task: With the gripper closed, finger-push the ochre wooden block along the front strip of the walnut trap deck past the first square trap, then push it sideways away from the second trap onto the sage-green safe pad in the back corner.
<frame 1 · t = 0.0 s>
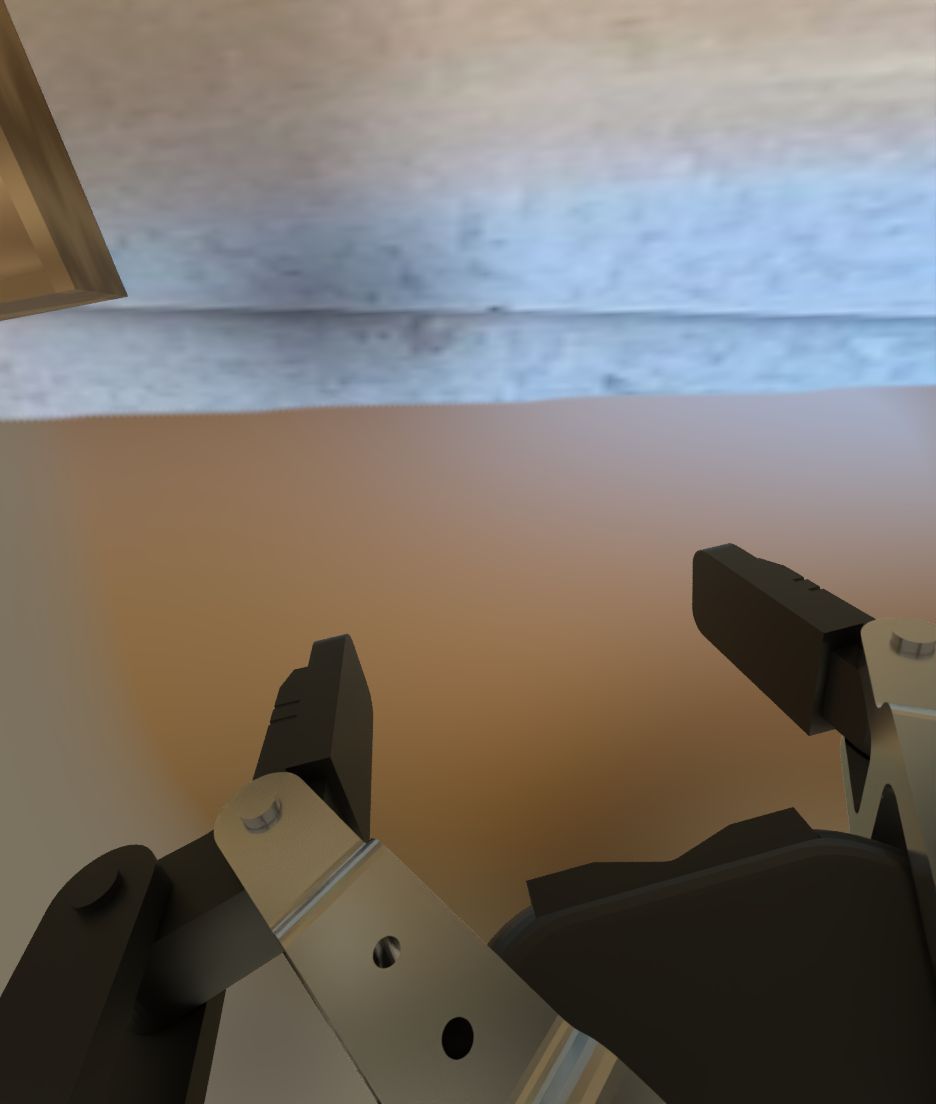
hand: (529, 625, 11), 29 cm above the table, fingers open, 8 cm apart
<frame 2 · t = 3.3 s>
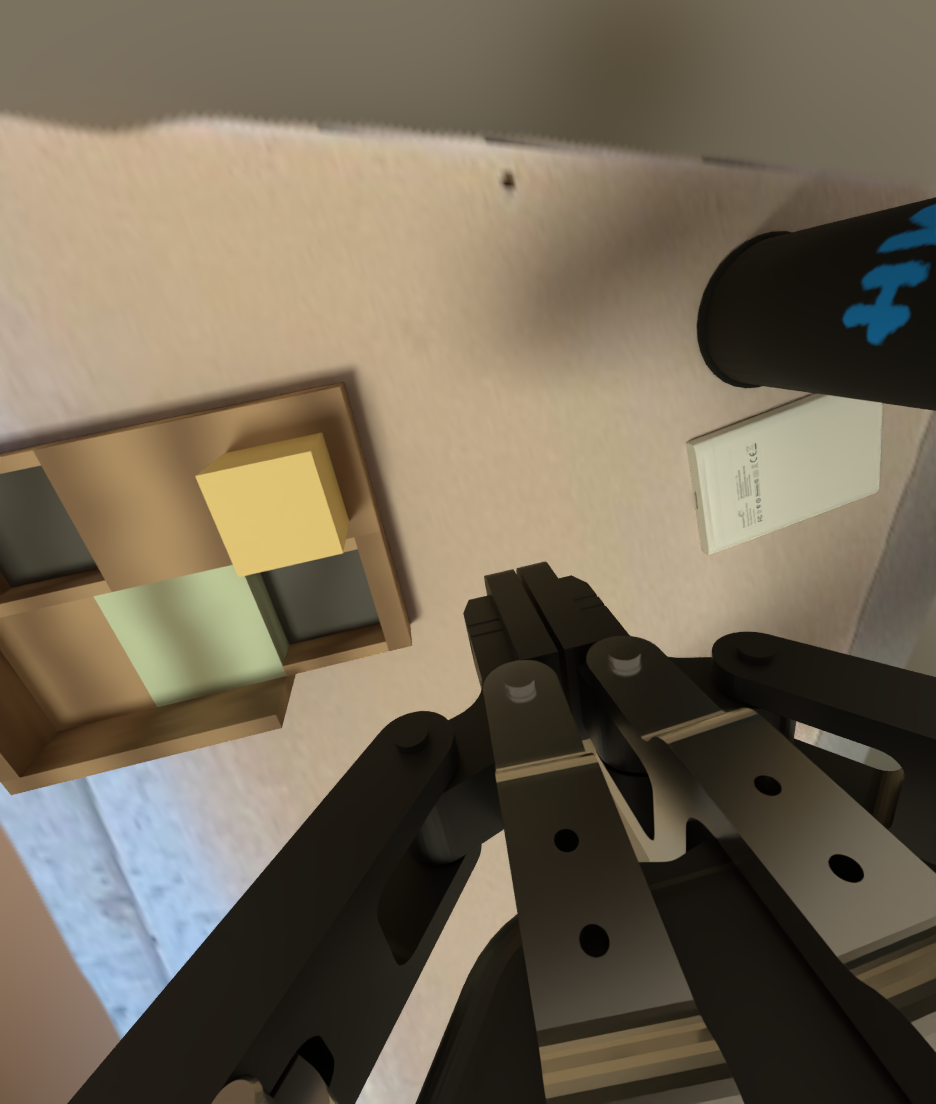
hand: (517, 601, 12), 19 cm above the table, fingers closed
aerosol can: (759, 314, 30), on the table
external hard drive: (773, 464, 34), on the table
trap deck: (200, 557, 30), on the table
block: (290, 488, 27), point 2 cm above the table, touching trap deck
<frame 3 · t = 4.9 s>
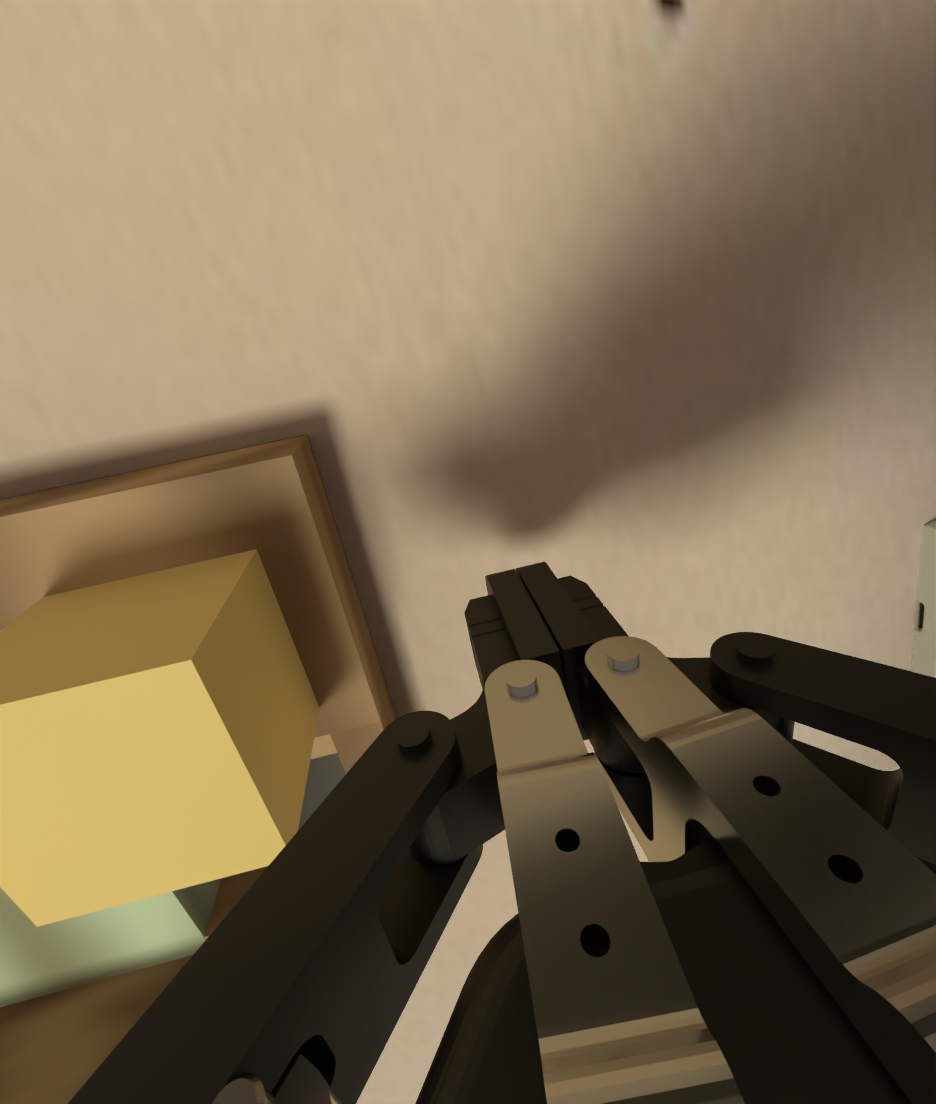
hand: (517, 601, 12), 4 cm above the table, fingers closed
trap deck: (46, 750, 16), on the table
block: (194, 657, 13), point 2 cm above the table, touching trap deck
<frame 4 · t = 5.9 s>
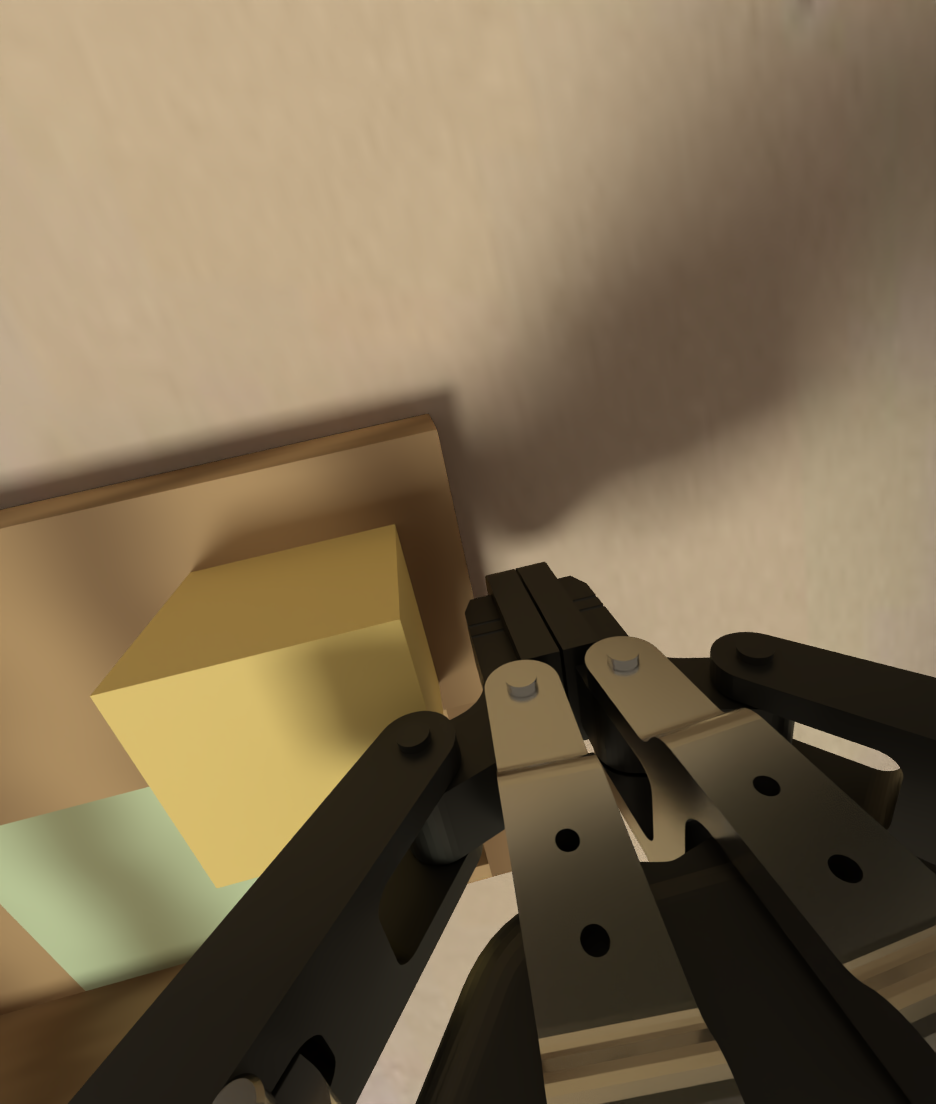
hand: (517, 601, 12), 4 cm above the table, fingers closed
trap deck: (156, 730, 17), on the table
block: (325, 632, 13), point 3 cm above the table, touching gripper
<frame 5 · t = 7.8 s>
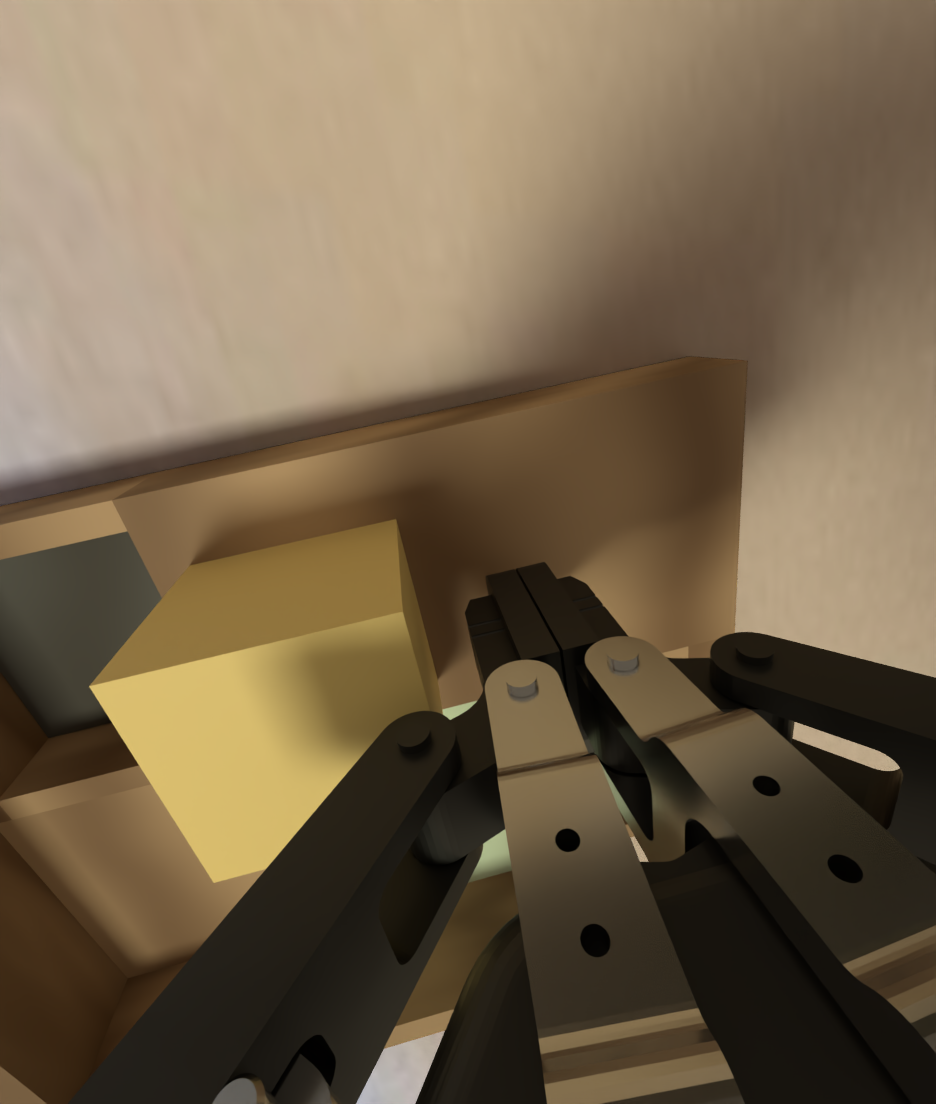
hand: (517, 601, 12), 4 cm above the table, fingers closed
trap deck: (382, 672, 17), on the table
block: (325, 627, 13), point 2 cm above the table, touching gripper, trap deck
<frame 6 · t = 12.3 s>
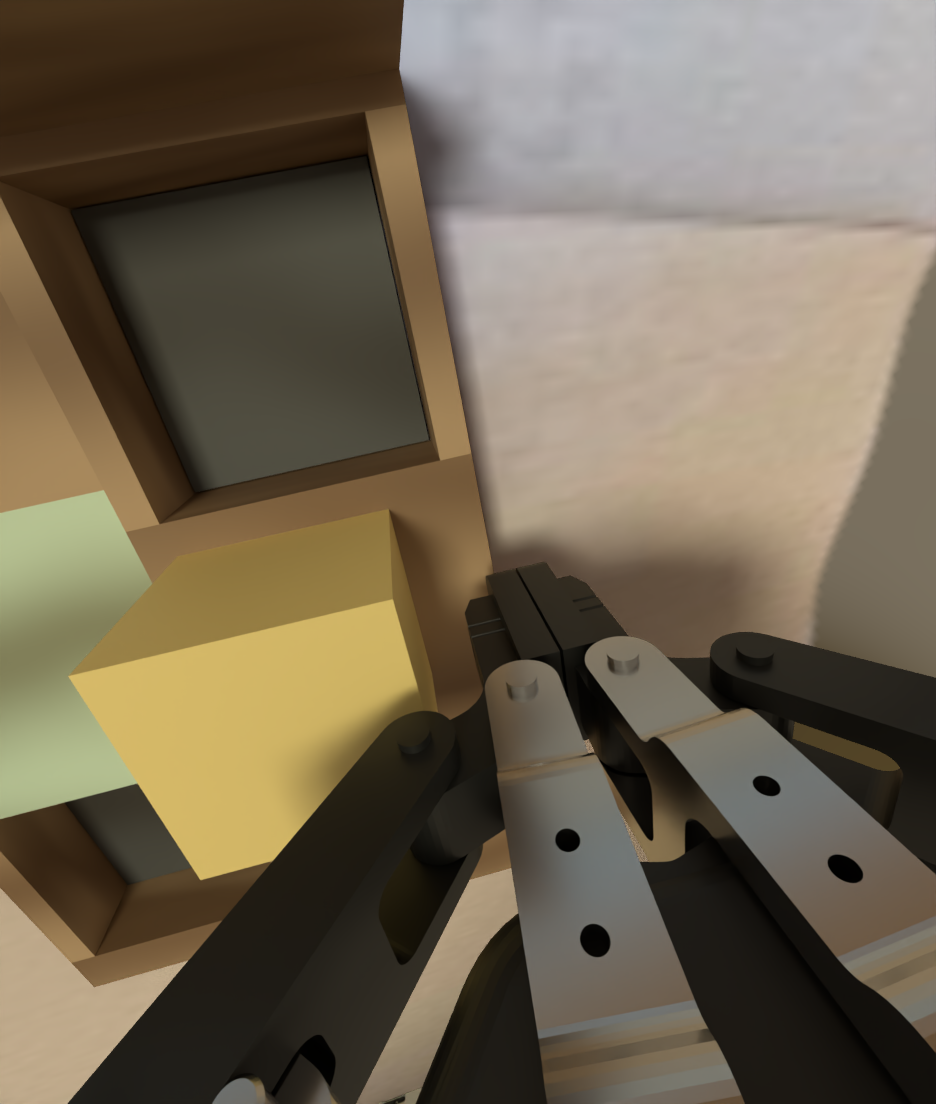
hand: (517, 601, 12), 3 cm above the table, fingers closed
trap deck: (225, 621, 15), on the table
block: (316, 620, 13), point 3 cm above the table, touching gripper
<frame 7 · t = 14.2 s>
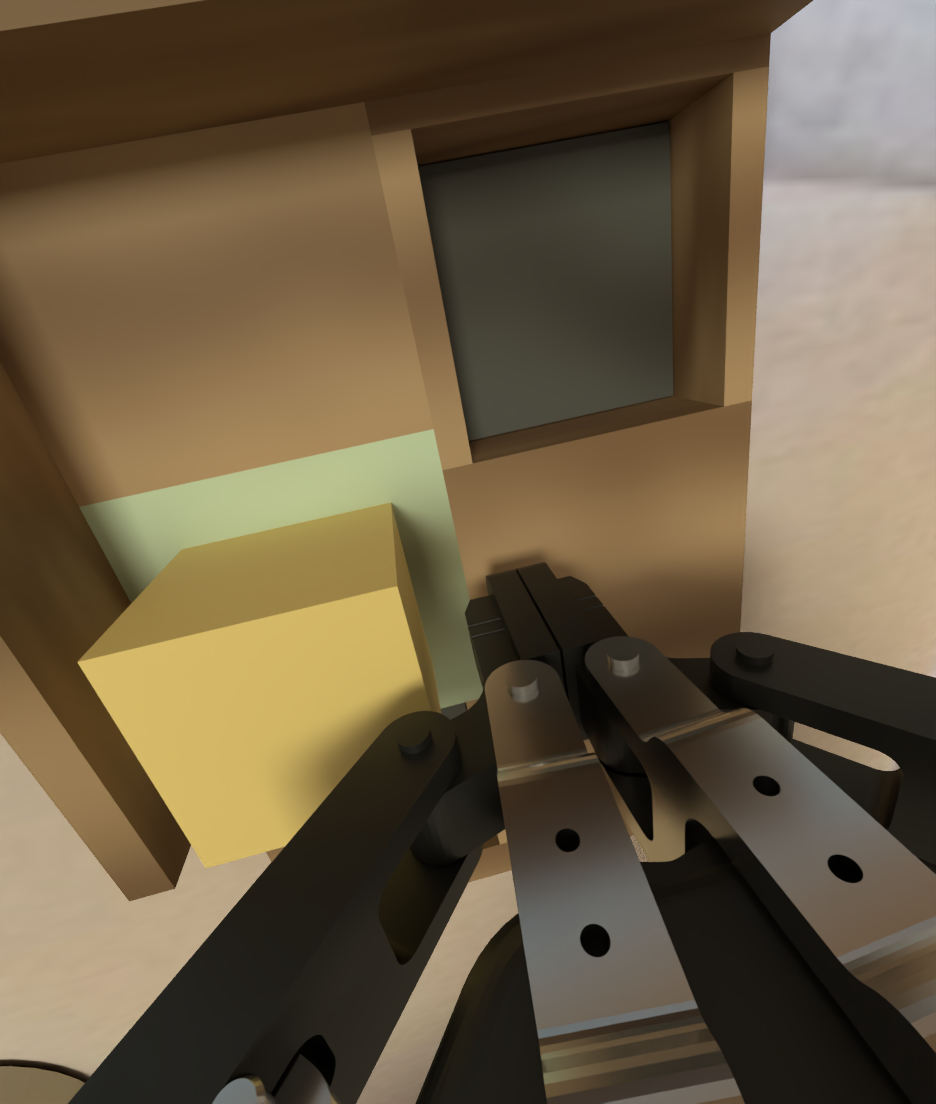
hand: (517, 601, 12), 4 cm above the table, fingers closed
trap deck: (458, 571, 16), on the table
block: (319, 613, 13), point 2 cm above the table, touching gripper, trap deck
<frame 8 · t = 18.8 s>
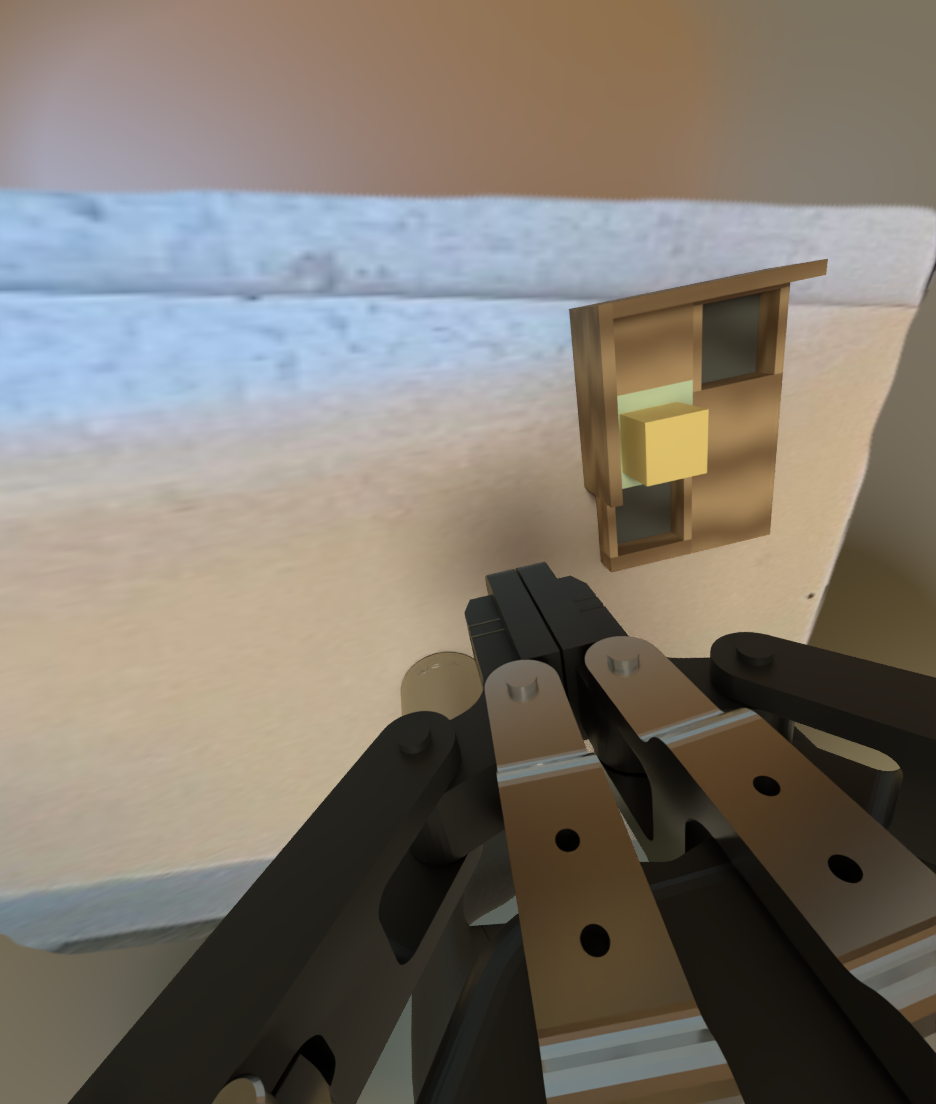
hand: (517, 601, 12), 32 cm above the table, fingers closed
trap deck: (677, 434, 46), on the table
block: (649, 437, 43), point 2 cm above the table, touching trap deck
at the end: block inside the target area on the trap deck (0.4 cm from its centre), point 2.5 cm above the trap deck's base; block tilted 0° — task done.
